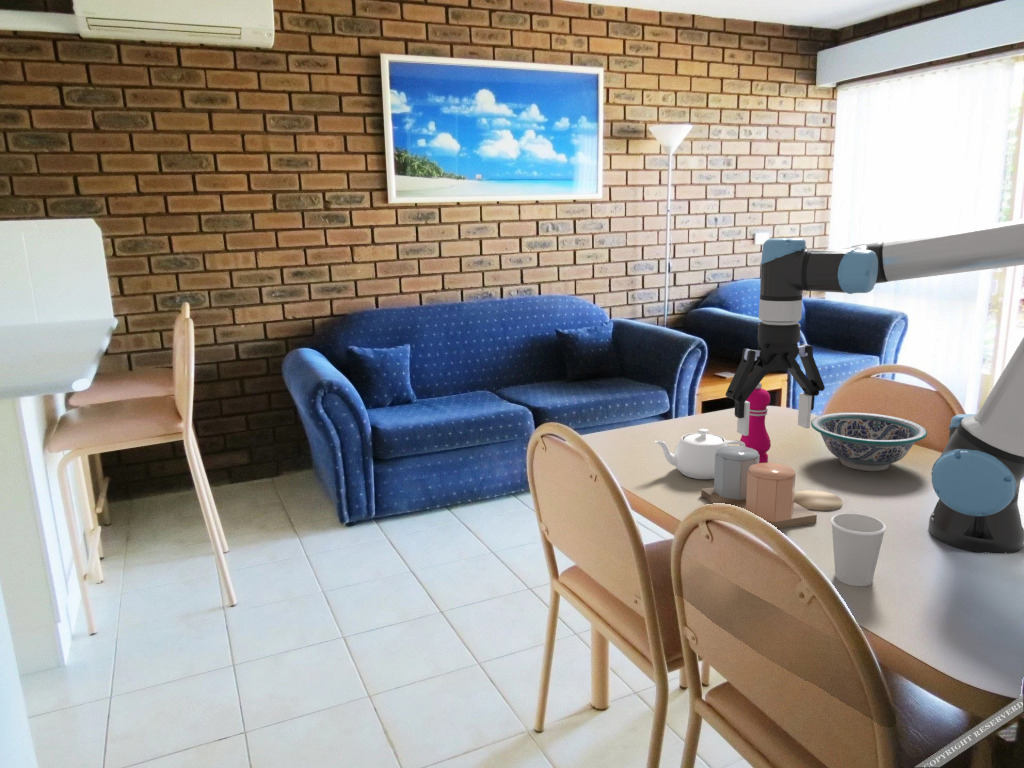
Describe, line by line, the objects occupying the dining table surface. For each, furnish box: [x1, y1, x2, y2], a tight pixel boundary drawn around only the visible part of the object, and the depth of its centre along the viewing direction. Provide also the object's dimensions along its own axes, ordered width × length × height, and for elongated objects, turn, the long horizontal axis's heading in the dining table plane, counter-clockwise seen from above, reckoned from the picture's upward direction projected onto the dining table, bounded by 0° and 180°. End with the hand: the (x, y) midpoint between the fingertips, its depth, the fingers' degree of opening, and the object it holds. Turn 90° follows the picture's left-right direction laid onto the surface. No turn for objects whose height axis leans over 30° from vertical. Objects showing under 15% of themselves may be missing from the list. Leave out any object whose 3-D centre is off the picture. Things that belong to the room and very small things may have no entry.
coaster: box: [794, 489, 843, 512], centre depth 155 cm, size 10×10×1 cm
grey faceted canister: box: [713, 445, 760, 500], centre depth 157 cm, size 8×8×9 cm
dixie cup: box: [829, 512, 887, 587], centre depth 122 cm, size 8×8×10 cm
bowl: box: [810, 411, 928, 472], centre depth 176 cm, size 25×25×10 cm
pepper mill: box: [739, 382, 772, 463], centre depth 179 cm, size 7×7×20 cm
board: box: [700, 486, 818, 529], centre depth 153 cm, size 20×14×2 cm
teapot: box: [654, 428, 746, 480], centre depth 173 cm, size 22×14×11 cm, turn 95°
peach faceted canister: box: [746, 462, 797, 522], centre depth 146 cm, size 8×8×9 cm
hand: (773, 430), depth 143 cm, fingers open, 13 cm apart
